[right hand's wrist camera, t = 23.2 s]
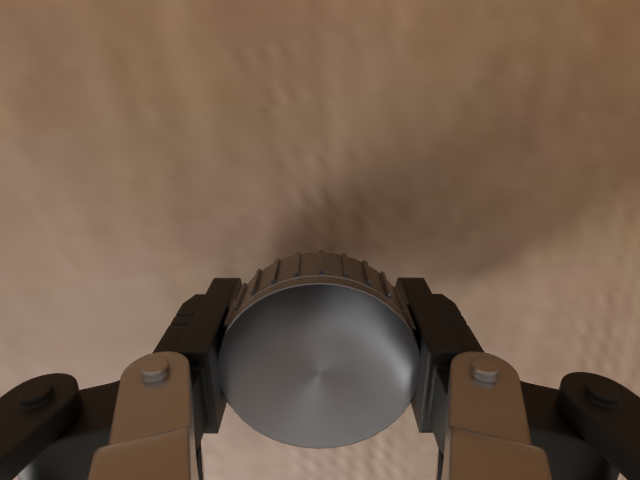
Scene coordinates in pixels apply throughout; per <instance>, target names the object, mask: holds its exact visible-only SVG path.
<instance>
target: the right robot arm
mask: <svg viewBox="0 0 640 480" xmlns="http://www.w3.org/2000/svg"><path fill="white" fill-rule="evenodd" d="M396 286H397V288H398V289H399V292H400V294H401V297H402V300H403V302H404V303H406V304H407V307H408V309H409V312H410V314H411V317H412V320H413V322H414V325H415V327H416V330H417V331H414V335H415V337H416V340H417V343H418V347H419V350H420V359H419V368H418V377H417V386H416V392H415V395H414V397H413V399H412V400H411V404H412V408H413V412H414V415H415V419H416V422H417V426H418V429H419V433H434V435H435V439H436V442H437V445H438V447H439V448H438V454H437V467H436V480H617V478H618V475H619V473H621V474H622V475H623V476H624V477H625V478H626V479H627V480H640V398H639V397H638V396H637V395H635V394H634V393H633V392H631V391H630V390H628V389H627V388H625V387H624V386H622V385H621V384H619V383H617V382H615V381H613V380H611V379H609V378H606V377H603V376H600V375H597V374H592V373H586V372H575V373H570V374H567V375H566V376H564V377H563V378H562V381H561V384H560V388H559V390H557V389H553V388H548V387H543V386H539V385H534V384H530V383H526V382H522V381H520V379H519V376H518V374H517V372H516V370H515V369H514V368H513V367H512V366H511V365H510V364H509V363H507V362H506V361H504V360H502V359H501V358H499V357H496V356H494V355H491V354H488V353H484V351H483V349H482V348H481V346H480V344H479V343H478V341H477V339H476V338H475V336H474V334H473V333H472V331H471V329H470V328H469V326H468V325H467V324H466V321H465V320H464V318H463V316H461V313H460V311H459V310H458V308H457V306H456V305H455V303H454V302H452V301H451V300H449V299H448V298H447V297H445V296H444V295H443V294H432V293H431V291H430V289H429V287H428V285H427V283H426V281H425V279H424V278H398V279H397V282H396ZM241 288H242V283H241V279H240V278H214V279H213V281H212V283H211V285H210V287H209V289H208V290H207V292H206V294H196V295H194V296H193V297H192V298H190V299H189V300H187V301H186V302H185V303H183V304H182V306H181V308H180V309H179V311H178V313H177V314H176V317H174V319H173V321H172V322H171V326H169V327H168V329H167V330H166V332H165V334H164V335H163V337H162V339H161V340H160V342H159V343H158V345H157V347H156V348H155V350H154V352H153V353H152V354H149V355H146V356H144V357H141V358H139V359H138V360H136V361H134V362H133V363H131V364H130V365H129V366H128V367H127V368H126V369H125V370H124V372H123V374H122V376H121V379H120V380H119V381H116V382H113V383H109V384H105V385H101V386H96V387H92V388H87V389H82V390H79V387H78V383H77V381H76V379H75V378H74V377H73V376H71V375H68V374H63V373H54V374H47V375H42V376H39V377H36V378H33V379H30V380H28V381H26V382H24V383H22V384H20V385H18V386H16V387H15V388H13V389H12V390H10V391H9V392H7V393H6V394H5V395H3V396H2V397H1V398H0V480H13V479H14V478H15V477H16V476H17V477H18V479H19V480H204V467H203V454H202V448H201V439H202V436H203V433H218V431H219V428H220V424H221V421H222V417H223V414H224V410H225V407H226V403H227V400H226V398H225V396H224V394H223V392H222V389H221V382H220V373H219V364H218V351H219V347H220V344H221V341H222V338H223V335H224V332H225V330H226V328H224V327H223V325H224V323H225V320H226V318H227V315H228V313H229V310H230V308H231V305H232V303H233V300H237V298H238V295H239V293H240V290H241Z"/></svg>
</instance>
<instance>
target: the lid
mask: <svg viewBox="0 0 640 480" xmlns="http://www.w3.org/2000/svg"><path fill="white" fill-rule="evenodd" d="M223 327H224V328H226V330H225V332H224V335H223V338H222V341H221V344H220V347H219V351H218V364H219V373H220V382H221V389H222V392H223V394H224V396H225V398H226V400H227V402H228V404H229V405H230V406H231V408H232V409H233V410H234V412H235V413H236V414H237V415H238V416H239V417H240V418H241V419H242V420H243V421H244V422H245V423H246V424H248V425H249V426H250V427H251V428H253V429H254V430H256V431H258V432H259V433H261V434H263V435H265V436H267V437H269V438H271V439H273V440H276V441H279V442H281V443H285V444H288V445H292V446H298V447H304V448H334V447H341V446H346V445H350V444H354V443H357V442H360V441H363V440H365V439H367V438H370V437H372V436H374V435H376V434H378V433H379V432H381V431H382V430H384V429H386V428H387V427H388V426H389V425H391V424H392V423H393V422H394V421H395V420H396V419H397V418H398V417H399V416H400V415H401V414H402V413H403V412H404V411H405V409H406V408H407V407H408V405H409V404H410V402H411V400H412V399H413V397H414V395H415V392H416V386H417V377H418V368H419V359H420V350H419V347H418V343H417V340H416V337H415V335H414V331H417V330H416V327H415V325H414V322H413V320H412V317H411V314H410V312H409V309H408V307H407V304H406V303H404V302H403V300H402V297H401V294H400V292H399V289H398V288H397V286H395V287H393V286H392V285H391V284H390V283H389V282H388V280H387V279H386V276H385V273H383V272H381V273H379V272H377V271H376V270H374V269H373V268H371V267H370V266H368V263H367V261H365V260H363V262H360V261H358V260H355V259H352V258H349V257H347V255H346V254H345V253H342V255H337V254H330V253H324V250H319V253H307V254H302V255H301V252H297V253H296V256H292V257H289V258H286V259H283V260H281V261H280V259H279V258H278V259H276V260H275V262H274V264H272V265H270V266H269V267H267V268H265V269H264V270H262V271H261V270H260V269H259V270H257V272H256V275H255V277H254V278H253V279H252V280H251V281H250V282H249V283H248V284H245V283H244V284H243V285H242V288H241V290H240V293H239V295H238V298H237V300H233V303H232V305H231V308H230V310H229V313H228V315H227V318H226V320H225V323H224V325H223Z"/></svg>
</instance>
